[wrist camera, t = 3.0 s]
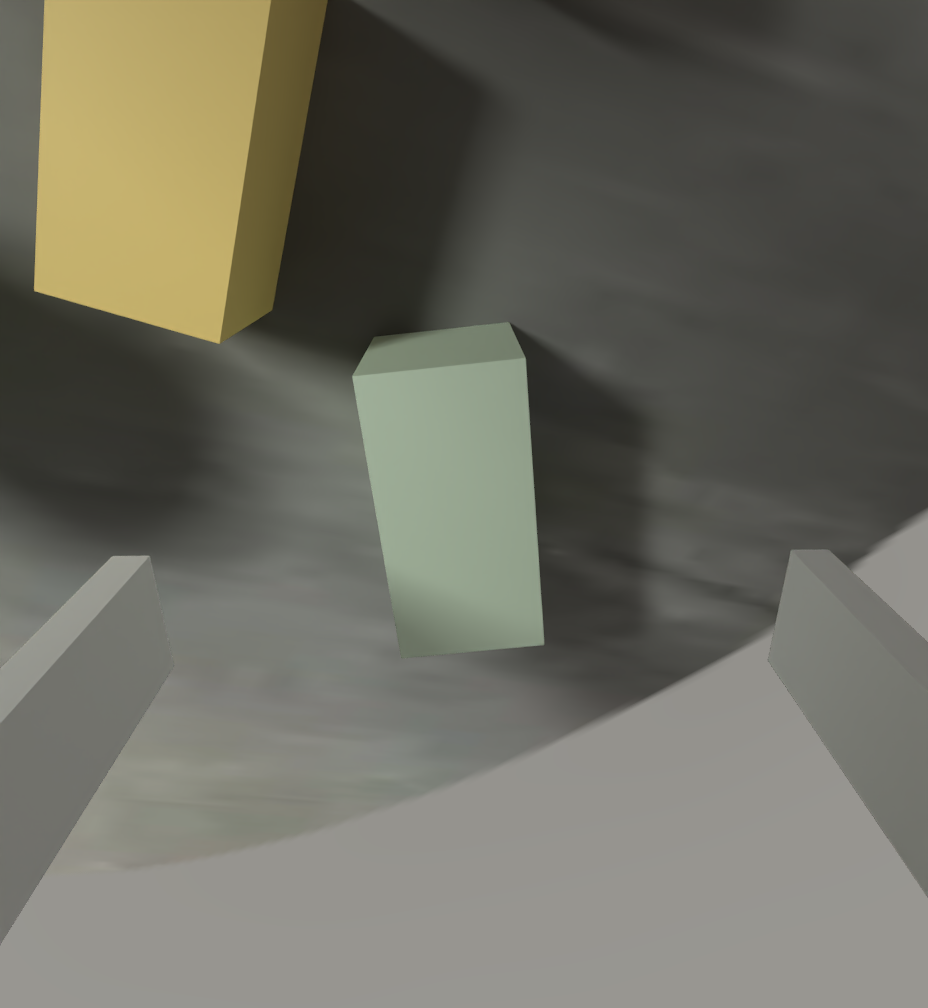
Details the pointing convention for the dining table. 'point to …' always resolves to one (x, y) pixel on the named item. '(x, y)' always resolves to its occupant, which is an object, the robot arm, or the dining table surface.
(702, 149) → the dining table surface
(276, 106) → the mustard brick
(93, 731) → the robot arm
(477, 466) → the sage brick
